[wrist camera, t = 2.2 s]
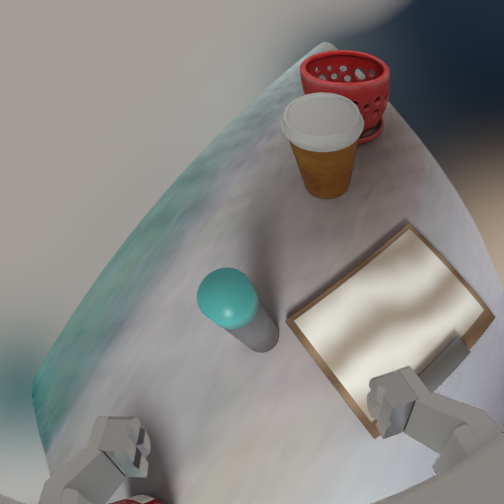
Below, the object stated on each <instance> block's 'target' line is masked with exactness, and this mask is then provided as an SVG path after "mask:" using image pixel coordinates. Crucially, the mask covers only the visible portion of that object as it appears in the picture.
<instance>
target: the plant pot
mask: <svg viewBox="0 0 504 504" xmlns="http://www.w3.org/2000/svg"><path fill="white" fill-rule="evenodd" d="M342 65H344V66H346V67H347V70H346V71H344V72H342V71H340V69H339V68H340V66H342ZM328 66H331V67H332V68H331V70H327V67H328ZM317 67H318V70H317V72H315V69H316V68H317ZM356 69H362V70H363V71H364V73H365V74H366V77H365V79H364V80H361V79H359V78H357V77H356V75H355V70H356ZM370 70H373V71H374V72H375V76H373V75H371V72H370ZM300 73H301V80H302V85H303V89H304V93H305V95H307V94H311V93H319V92H322V93H334V94H338V95H341V96H344V97H346V98H348V99H350V100H351V101H352V102H353V103H354V104H356V105H357V107H358V109H359V112H360V114H361V115H362V117H363V120H364V128H363V131H362V133H361V134H360V136H359V139H358V144H363V143H366V142H369V141H371V140H373V139H375V138H376V137H377V136H378V135H379V134H380V133H381V131H382V129H383V118H382V115H383V113H384V111H385V108H386V105H387V102H388V97H389V89H390V70H389V68H388V66H387V65H386V64H385V63H384V62H383V61H382V60H380V59H379V58H377V57H375V56H373V55H370V54H366V53H363V52H358V51H349V50H336V51H327V52H322V53H318V54H315V55H313V56H310V57H309V58H307V59H305V60H304V61H303V62H302V64H301V66H300ZM333 73H336V74H337V78H336V79H332V78H331V74H333ZM321 75H324V76H325V78H326V80H322V79H319V78H318V77H319V76H321ZM346 75H349V76H351V81H349V82H346V81H345V80H344V76H346Z"/></svg>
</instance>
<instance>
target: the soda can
mask: <svg viewBox="0 0 504 504" xmlns="http://www.w3.org/2000/svg"><path fill="white" fill-rule="evenodd" d="M110 504H164V503H163V502H161V501H160V500H159V499H157V498H155V497H152V496H149V495H136V496H133V497H130V498H127V499H124V500H120V501H117V502H113V503H110Z"/></svg>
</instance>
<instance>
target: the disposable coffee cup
mask: <svg viewBox="0 0 504 504" xmlns="http://www.w3.org/2000/svg"><path fill="white" fill-rule="evenodd" d="M363 128H364V120H363V117H362V115H361V114H360V112H359V109H358V107H357V105H356V104H354V103H353V102H352V101H351V100H350V99H348V98H346V97H344V96H341V95H338V94H334V93H322V92H319V93H311V94H307V95H303V96H301V97H298V98H296V99H294V100H293V101H291V102H290V103H289V104H288V105H287V106H286V108H285V110H284V113H283V117H282V119H281V129H282V132H283V133H284V135H285V136H286V137H287V138H288V140H289V142H290V144H291V147H292V150H293V153H294V155H295V158H296V161H297V164H298V167H299V169H300V172H301V175H302V178H303V181H304V184H305V187H306V189H307V190H308V191H309V192H310V193H311V194H312V195H313V196H316V197H318V198H322V199H332V198H336V197H339V196H340V195H342V194H343V193H344V192H346V190H347V189H348V187H349V183H350V178H351V173H352V169H353V164H354V159H355V154H356V149H357V144H358V139H359V136H360V134H361V133H362V131H363Z"/></svg>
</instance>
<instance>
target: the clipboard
mask: <svg viewBox="0 0 504 504" xmlns="http://www.w3.org/2000/svg"><path fill="white" fill-rule="evenodd" d="M494 319H495V316H494V315H493V313H492V312H491V311H490V310H489V308H488V307H487V306H486V305H485V304H484V302H483V301H482V300H481V299H480V297H479V296H478V295H477V294H476V293H475V292H474V290H473V289H472V288H471V287H470V286H469V285H468V284H467V282H466V281H465V280H464V279H463V278H462V277H461V276H460V275H459V273H458V272H457V271H456V270H455V269H454V268H453V267H452V266H451V265H450V264H449V263H448V262H447V260H446V259H445V258H444V257H443V256H442V255H441V254H440V253H439V252H438V251H437V250H436V249H435V248H434V247H433V246H432V245H431V244H430V243H429V242H428V241H427V240H426V239H425V238H424V237H423V236H422V235H421V234H420V233H419V232H418V231H417V230H416V229H415V228H414V227H413V226H412V225H411V224H410V223H409V224H408V225H406V226H405V227H404V228H403V229H402V230H401V231H399V232H398V233H397V234H396V235H395V236H394V237H392V238H391V239H390V240H389V241H388V242H386V243H385V244H384V245H383V246H382V247H380V248H379V249H378V250H377V251H376V252H374V253H373V254H372V255H371V256H370V257H368V258H367V259H366V260H365V261H363V262H362V263H361V264H360V265H358V266H357V267H356V268H355V269H353V270H352V271H351V272H350V273H348V274H347V275H346V276H344V277H343V278H342V279H341V280H339V281H338V282H337V283H335V284H334V285H333V286H332V287H330V288H329V289H328V290H326V291H325V292H324V293H322V294H321V295H320V296H318V297H317V298H316V299H314V300H313V301H312V302H310V303H309V304H308V305H306V306H305V307H303V308H302V309H301V310H299V311H298V312H297V313H295V314H294V315H292V316H291V317H290V318H288V319H287V320H285V321H286V323H287V325H288V326H289V327H290V329H291V330H292V331H293V333H294V334H295V335H296V337H297V338H298V339H299V341H300V342H301V343H302V345H303V346H304V347H305V349H306V350H307V351H308V353H309V354H310V355H311V357H312V358H313V359H314V361H315V362H316V363H317V365H318V366H319V367H320V369H321V370H322V371H323V373H324V374H325V375H326V377H327V378H328V379H329V380H330V382H331V383H332V384H333V386H334V387H335V388H336V390H337V391H338V392H339V394H340V395H341V396H342V398H343V399H344V400H345V402H346V403H347V404H348V405H349V407H350V408H351V409H352V411H353V412H354V413H355V415H356V416H357V417H358V418H359V420H360V421H361V422H362V424H363V425H364V426H365V428H366V429H367V430H368V431H369V433H370V434H371V435H372V437H373V438H374V439H376V438H377V437H378V436H380V435H381V434H380V432H379V430H378V428H377V427H376V425H377V421H378V420H376V419H374V418H372V417H371V415H370V413H369V410H368V407H367V394H368V393H369V392H370V390H371V389H370V387H369V381H370V380H371V378H374V377H377V376H380V375H383V374H385V373H388V372H391V371H394V370H397V369H400V368H403V367H406V366H410V367H411V368H412V369H413V370H414V372H415V373H416V374H417V376H418V377H419V378H420V379H421V381H422V382H423V383H424V385H425V386H426V387H427V389H428V390H429V391H430V393H431V394H432V393H433V392H434V391H435V390H436V389H437V388H438V387H439V386H440V385H441V384H442V383H443V382H444V381H445V380H446V379H447V377H448V376H449V375H450V374H451V373H452V372H453V371H454V370H455V369H456V368H457V367H458V366H459V365H460V363H461V362H462V361H463V360H464V359H465V358H466V357H467V355H468V354H469V353H470V349H471V348H472V346H473V345H474V344H475V343H476V342H477V340H478V339H479V338H480V337H481V335H482V334H483V333H484V332H485V330H486V329H487V328H488V326H489V325H490V324H491V323H492V321H493V320H494Z"/></svg>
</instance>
